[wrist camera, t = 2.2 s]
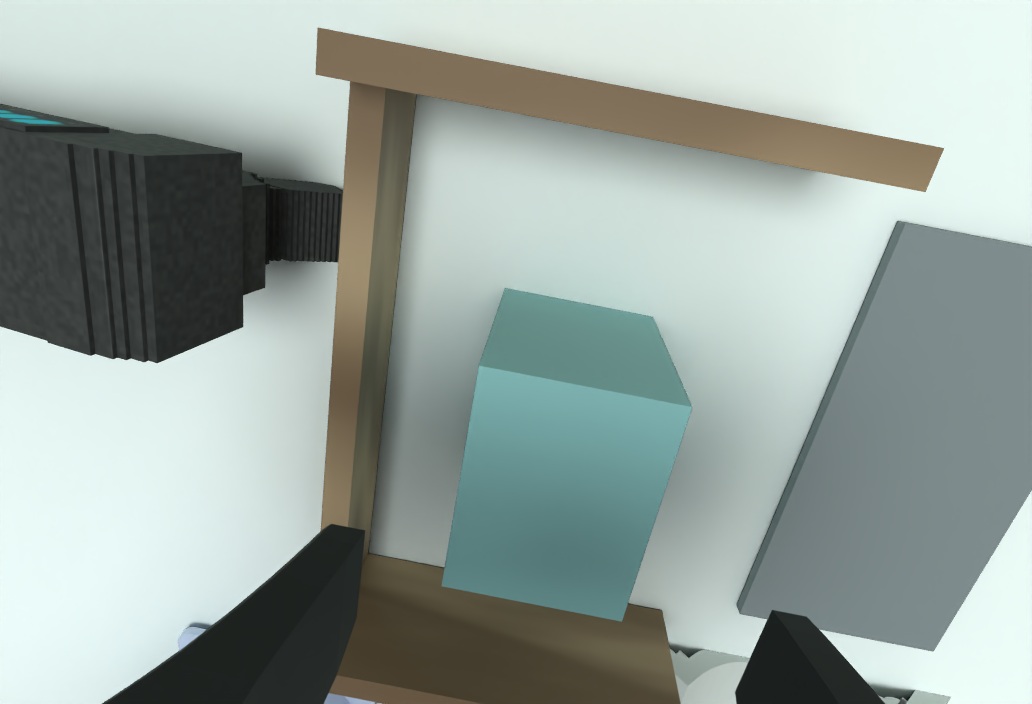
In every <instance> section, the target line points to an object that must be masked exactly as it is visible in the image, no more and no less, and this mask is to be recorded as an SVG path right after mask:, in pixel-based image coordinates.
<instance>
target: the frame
mask: <svg viewBox="0 0 1032 704" xmlns="http://www.w3.org/2000/svg"><path fill="white" fill-rule="evenodd" d="M316 75H321V76H326V77H331V78H336V79H342V80H347V81H350V94H349V110H348V125H347V140H346V155H345V170H344V186H343V201H342V216H341V231H340V247H339V262H338V277H337V292H336V307H335V323H334V338H333V353H332V368H331V384H330V399H329V414H328V429H327V444H326V460H325V475H324V490H323V505H322V521H321V531H322V530H323V529H324V528H325V527H327V526H328V525H330V524H335V525H340V526H346V527H351V528H356V529H361V530H365V539H364V549H363V559H362V569H361V579H360V589H359V599H358V609H357V618H356V621H355V624H354V627H353V630H352V633H351V636H350V639H349V642H348V645H347V648H346V650H345V653H344V656H343V659H342V662H341V664H340V667H339V670H338V673H337V676H336V678H335V680H334V682H333V685H332V687H331V689H330V691H329V693H331V694H336V695H341V696H346V697H351V698H356V699H361V700H366V701H372V702H377V703H382V704H681V703H680V698H679V693H678V688H677V683H676V678H675V673H674V668H673V663H672V658H671V653H670V648H669V643H668V638H667V633H666V628H665V623H664V618H663V613H662V611H661V610H656V609H651V608H646V607H641V606H636V605H630V604H628V605H627V608H626V611H625V614H624V617H623V620H622V622H621V621H616V620H611V619H606V618H601V617H596V616H591V615H586V614H581V613H575V612H570V611H565V610H560V609H555V608H550V607H545V606H540V605H535V604H530V603H525V602H519V601H514V600H509V599H504V598H499V597H494V596H489V595H484V594H479V593H474V592H469V591H463V590H458V589H453V588H448V587H443V586H442V580H443V575H444V569H445V568H440V567H435V566H430V565H425V564H420V563H414V562H409V561H404V560H399V559H394V558H389V557H384V556H378V555H373V554H368V551H369V542H370V532H371V523H372V513H373V504H374V494H375V484H376V475H377V465H378V456H379V446H380V437H381V427H382V418H383V408H384V399H385V389H386V380H387V370H388V361H389V351H390V342H391V332H392V323H393V313H394V304H395V294H396V285H397V275H398V266H399V256H400V247H401V237H402V228H403V218H404V208H405V199H406V189H407V180H408V170H409V161H410V151H411V142H412V132H413V123H414V113H415V104H416V94H419V95H425V96H430V97H435V98H440V99H445V100H451V101H456V102H461V103H466V104H471V105H477V106H482V107H487V108H492V109H497V110H502V111H508V112H513V113H518V114H523V115H528V116H534V117H539V118H544V119H549V120H554V121H559V122H565V123H570V124H575V125H580V126H585V127H591V128H596V129H601V130H606V131H611V132H617V133H622V134H627V135H632V136H637V137H642V138H648V139H653V140H658V141H663V142H668V143H674V144H679V145H684V146H689V147H694V148H700V149H705V150H710V151H715V152H720V153H725V154H731V155H736V156H741V157H746V158H751V159H757V160H762V161H767V162H772V163H777V164H783V165H788V166H793V167H798V168H803V169H808V170H814V171H819V172H824V173H829V174H834V175H840V176H845V177H850V178H855V179H860V180H866V181H871V182H876V183H881V184H886V185H891V186H897V187H902V188H907V189H912V190H917V191H923V192H926V189H927V187H928V185H929V182H930V180H931V178H932V175H933V173H934V171H935V168H936V166H937V164H938V161H939V159H940V157H941V154H942V152H943V150H944V148H940V147H935V146H930V145H925V144H919V143H914V142H909V141H904V140H899V139H893V138H888V137H883V136H878V135H873V134H867V133H862V132H857V131H852V130H847V129H841V128H836V127H831V126H826V125H821V124H816V123H810V122H805V121H800V120H795V119H790V118H784V117H779V116H774V115H769V114H764V113H758V112H753V111H748V110H743V109H738V108H732V107H727V106H722V105H717V104H712V103H706V102H701V101H696V100H691V99H686V98H681V97H675V96H670V95H665V94H660V93H655V92H649V91H644V90H639V89H634V88H629V87H623V86H618V85H613V84H608V83H603V82H597V81H592V80H587V79H582V78H577V77H572V76H566V75H561V74H556V73H551V72H546V71H540V70H535V69H530V68H525V67H520V66H514V65H509V64H504V63H499V62H494V61H488V60H483V59H478V58H473V57H468V56H462V55H457V54H452V53H447V52H442V51H437V50H431V49H426V48H421V47H416V46H411V45H405V44H400V43H395V42H390V41H385V40H379V39H374V38H369V37H364V36H359V35H353V34H348V33H343V32H338V31H333V30H328V29H322V28H318V33H317V56H316Z"/></svg>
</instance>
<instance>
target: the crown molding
mask: <svg viewBox="0 0 1032 704" xmlns="http://www.w3.org/2000/svg"><path fill="white" fill-rule="evenodd" d="M670 653H671V658H672V663H673V668H674V673H675V678H676V683H677V688H678V693H679V698H680V703H681V704H737V703H736V696H735V691H736V688H737V686H738V684H739V682H740V679H741V677H742V675H743V673H744V671H745V668H746V666H747V664H748V662H749V660H750V658H747V657H742V656H736V655H731V654H726V653H721V652H716V651H710V650H705V649H703V650H701V651H698V652H696V653H695V654H694V655H692V656H691V657H690V658H688V657H687V656H686V655H685V654H684V653H682V652H681V651H679V652H678V653H677V654H676V653H675V652H674V651H672V650H671V649H670ZM879 697H880V698H881V699H882V701H883V702H884V703H885V704H947V703H948V701H949V700H950V698H951V697H949V696H944V695H939V694H933V693H928V692H923V691H918V690H915V691H914V693H913V694H912V696H911V697H910V699H909V700H908V701H907V700H905V699H904V698H903V697H902V698H901V700H899V699H897V698H893V697H885V698H883V697H881V696H879Z"/></svg>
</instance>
